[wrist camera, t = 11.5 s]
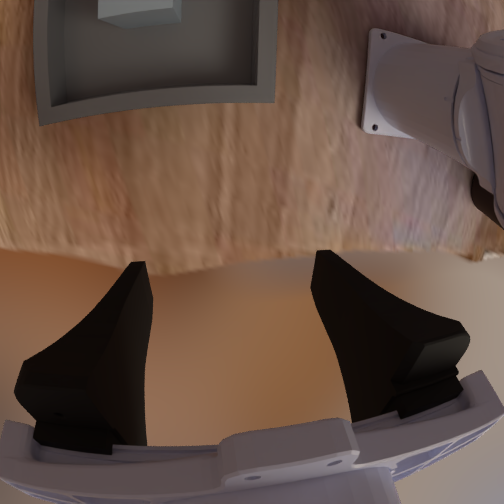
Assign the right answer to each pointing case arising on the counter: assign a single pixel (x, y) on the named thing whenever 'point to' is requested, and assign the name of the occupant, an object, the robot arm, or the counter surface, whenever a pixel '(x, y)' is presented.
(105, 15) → the tall grey cuboid
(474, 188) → the bottle
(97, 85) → the dark grey square tray
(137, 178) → the counter surface
